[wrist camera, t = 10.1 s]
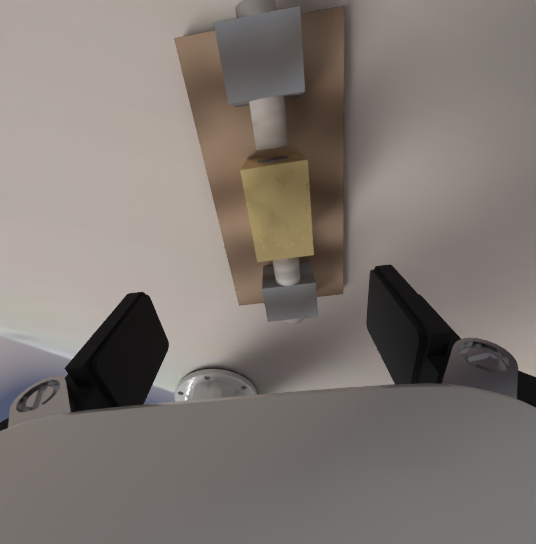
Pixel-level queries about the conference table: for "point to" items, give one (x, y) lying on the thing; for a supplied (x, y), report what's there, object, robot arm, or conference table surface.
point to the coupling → (279, 205)
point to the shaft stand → (273, 138)
